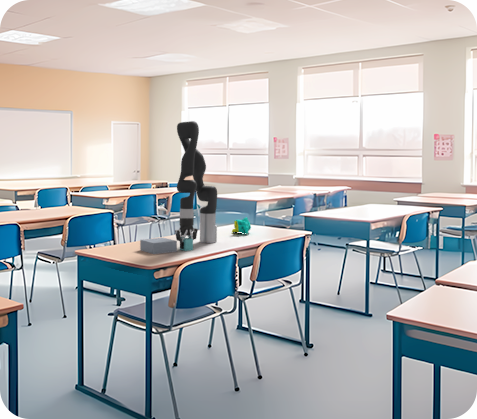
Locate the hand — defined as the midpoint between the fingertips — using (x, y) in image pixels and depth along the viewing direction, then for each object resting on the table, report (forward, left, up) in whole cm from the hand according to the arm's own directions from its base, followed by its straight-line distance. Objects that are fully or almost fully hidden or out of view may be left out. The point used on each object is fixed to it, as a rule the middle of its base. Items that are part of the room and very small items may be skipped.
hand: (186, 247), depth 290 cm
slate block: (+14, -6, -1) cm, 15 cm away
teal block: (0, 0, -1) cm, 1 cm away
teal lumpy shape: (-67, -28, -1) cm, 73 cm away
